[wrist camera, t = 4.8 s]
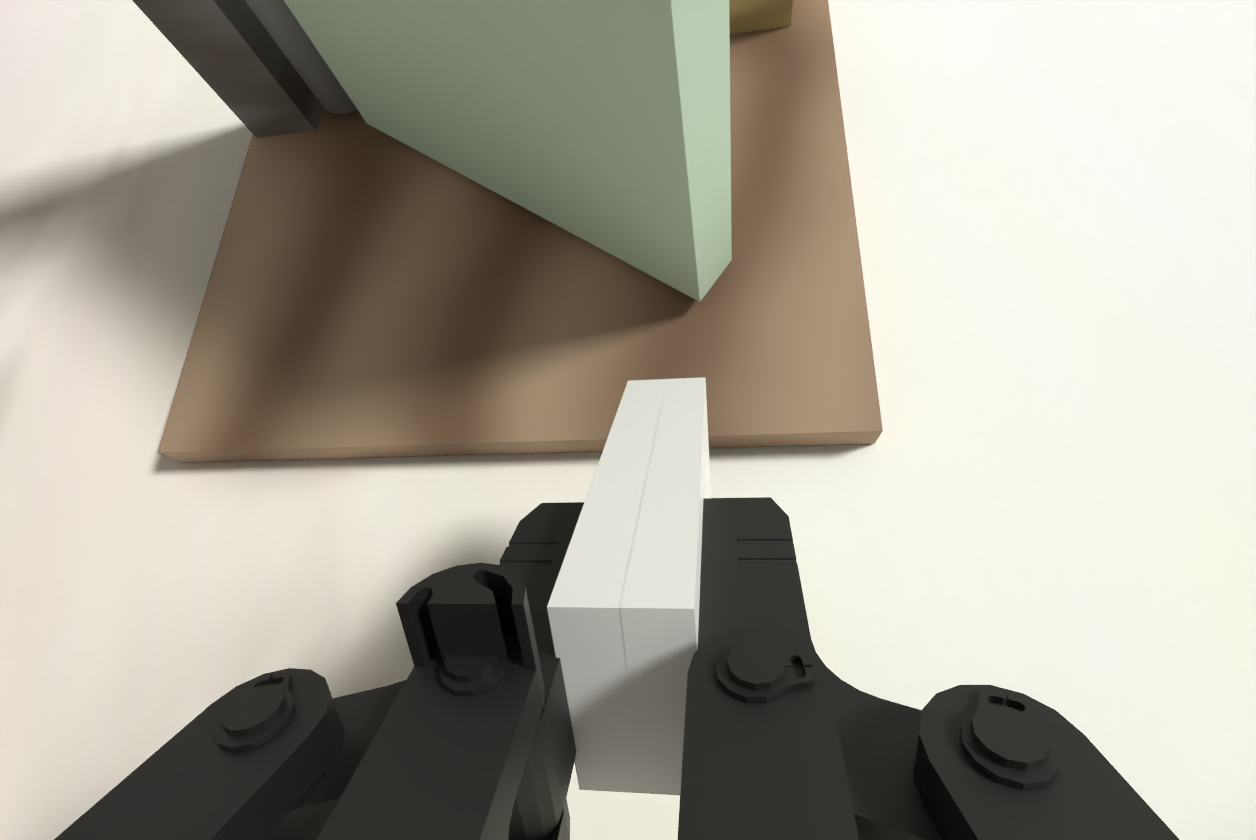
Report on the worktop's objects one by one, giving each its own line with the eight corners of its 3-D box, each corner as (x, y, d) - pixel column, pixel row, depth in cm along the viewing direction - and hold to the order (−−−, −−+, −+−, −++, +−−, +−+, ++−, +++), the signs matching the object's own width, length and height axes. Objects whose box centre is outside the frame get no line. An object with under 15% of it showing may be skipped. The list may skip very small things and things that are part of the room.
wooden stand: (183, 462, 20) (-603, 168, 8) (297, 59, 27) (-60, -438, 15) (874, 443, 17) (1194, -74, 5) (819, -10, 23) (907, -718, 11)
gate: (308, 101, 23) (-18, -334, 13) (349, 60, 24) (63, -390, 14) (694, 309, 18) (638, -165, 8) (737, 252, 18) (739, -270, 8)
